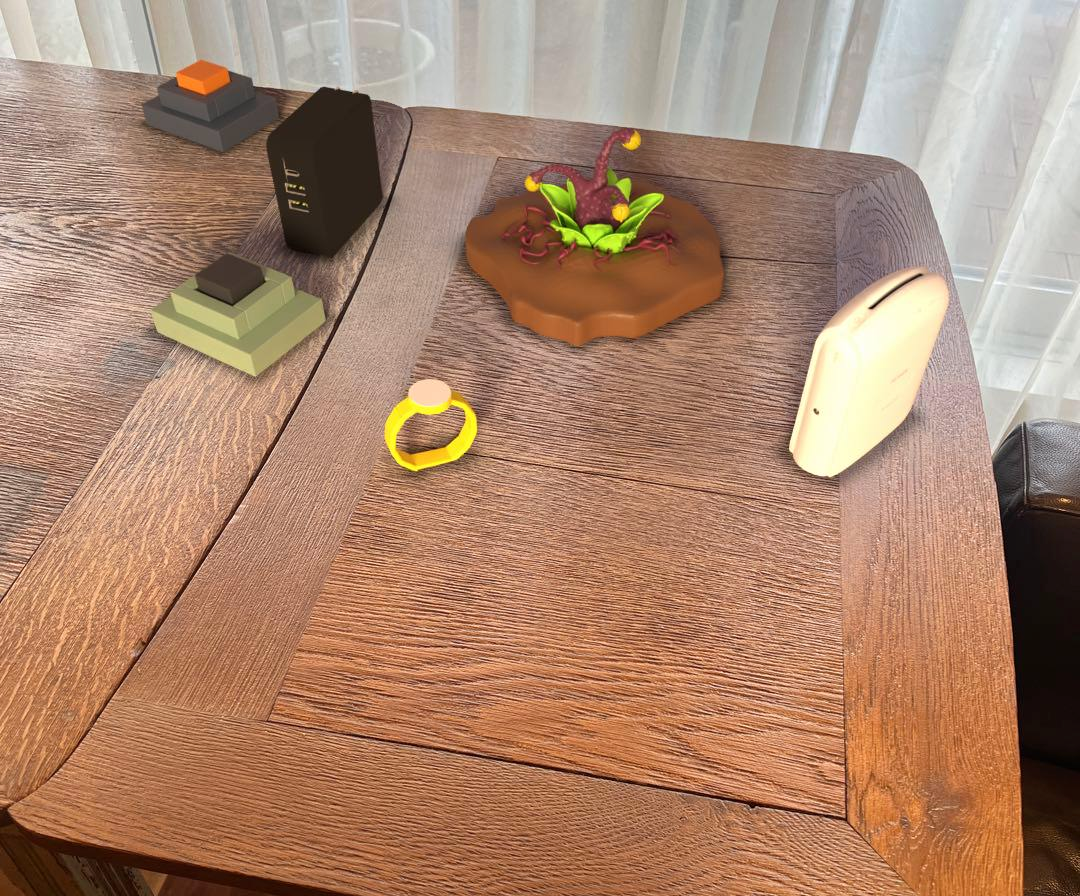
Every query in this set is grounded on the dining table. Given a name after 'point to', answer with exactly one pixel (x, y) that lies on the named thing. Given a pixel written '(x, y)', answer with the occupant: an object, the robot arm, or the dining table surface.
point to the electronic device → (325, 170)
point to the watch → (430, 400)
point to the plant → (596, 253)
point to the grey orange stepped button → (212, 112)
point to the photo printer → (867, 369)
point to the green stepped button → (241, 321)
